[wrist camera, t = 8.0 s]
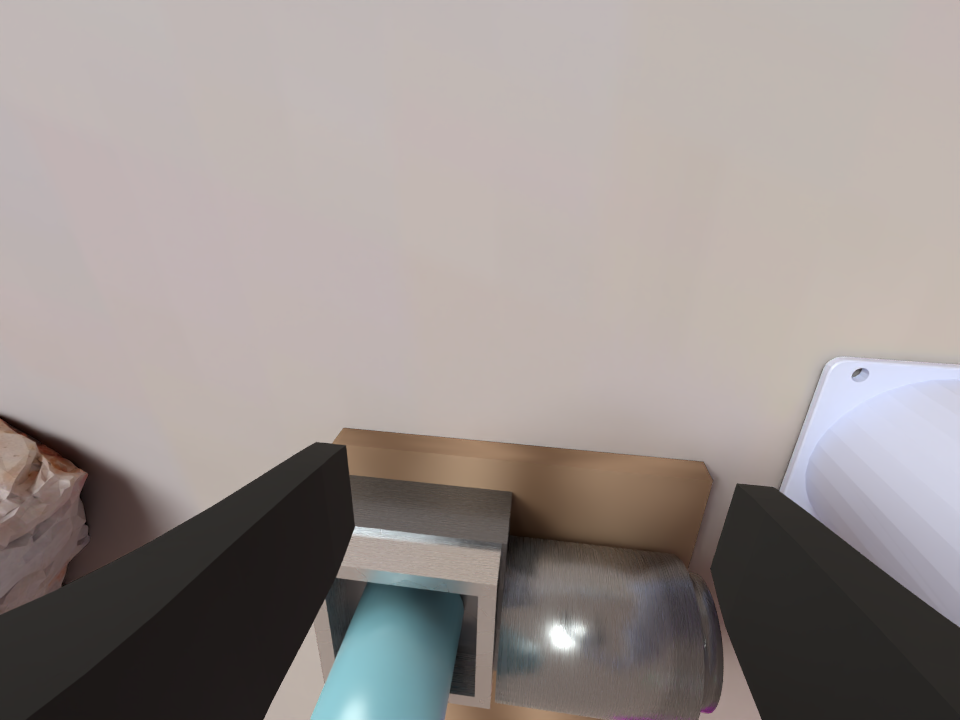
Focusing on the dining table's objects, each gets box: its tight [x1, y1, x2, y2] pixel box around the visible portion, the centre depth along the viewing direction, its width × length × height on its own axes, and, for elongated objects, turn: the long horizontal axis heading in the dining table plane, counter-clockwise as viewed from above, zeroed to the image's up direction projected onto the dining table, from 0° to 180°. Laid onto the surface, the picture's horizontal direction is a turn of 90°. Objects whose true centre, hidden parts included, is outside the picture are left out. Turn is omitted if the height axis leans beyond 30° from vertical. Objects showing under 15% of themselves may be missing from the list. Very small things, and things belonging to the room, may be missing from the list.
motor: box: [314, 475, 723, 720], centre depth 18 cm, size 14×7×6 cm, turn 89°
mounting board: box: [332, 428, 713, 720], centre depth 23 cm, size 15×20×1 cm
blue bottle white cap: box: [310, 582, 464, 720], centre depth 15 cm, size 4×4×6 cm
